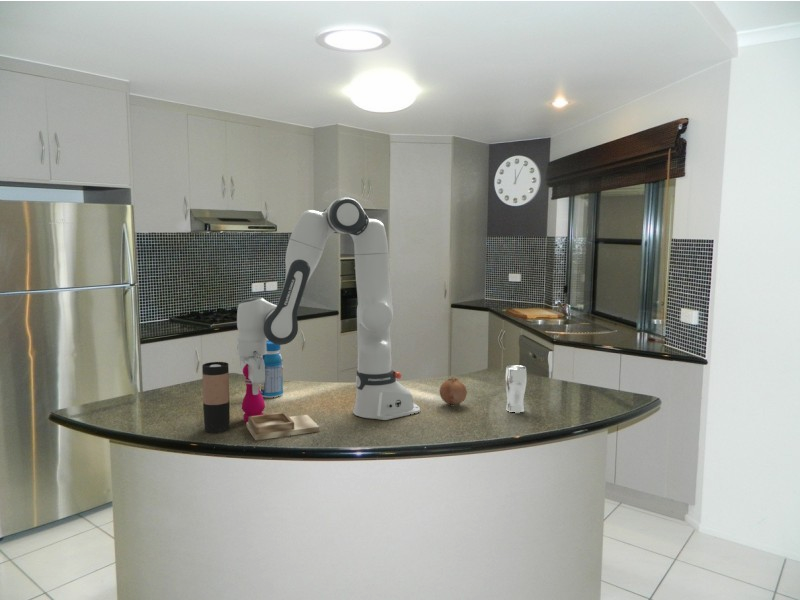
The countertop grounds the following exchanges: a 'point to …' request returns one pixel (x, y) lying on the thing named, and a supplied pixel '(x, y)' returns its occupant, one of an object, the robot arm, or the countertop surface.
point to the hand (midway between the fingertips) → (253, 391)
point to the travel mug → (216, 396)
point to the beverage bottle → (272, 372)
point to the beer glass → (515, 387)
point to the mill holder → (280, 425)
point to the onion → (453, 391)
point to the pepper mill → (251, 399)
